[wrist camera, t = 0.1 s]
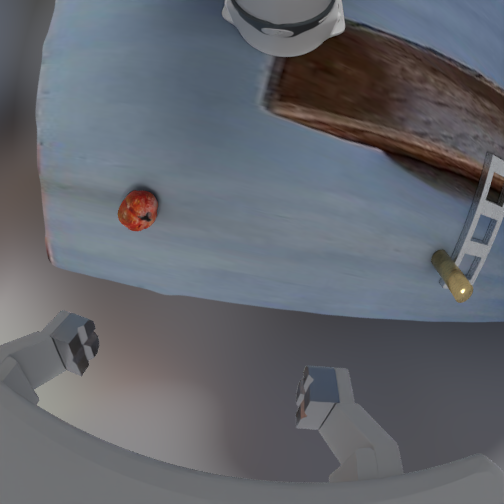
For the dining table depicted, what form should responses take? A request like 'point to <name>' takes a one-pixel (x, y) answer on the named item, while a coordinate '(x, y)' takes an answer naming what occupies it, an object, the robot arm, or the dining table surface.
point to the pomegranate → (138, 210)
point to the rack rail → (478, 207)
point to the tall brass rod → (452, 276)
